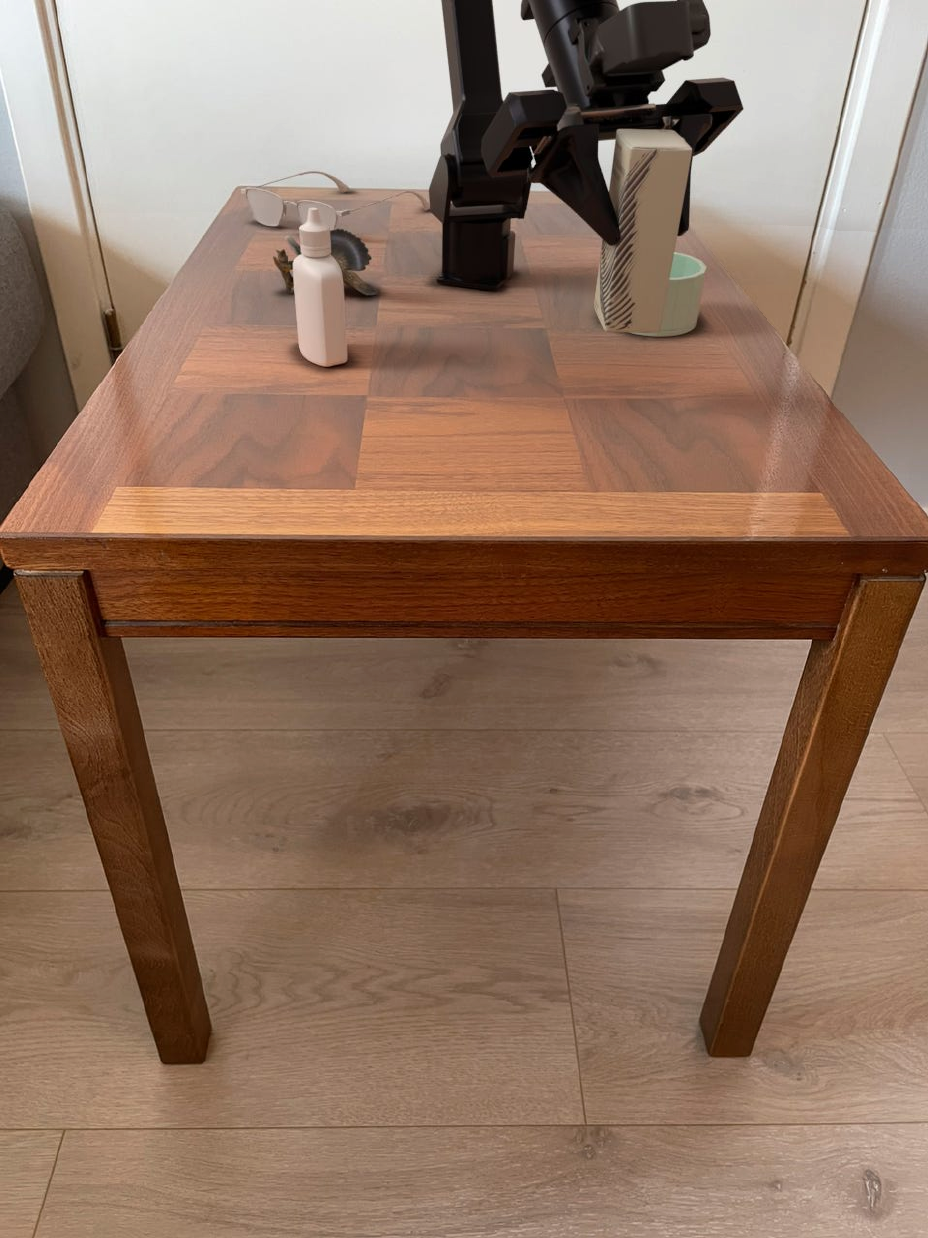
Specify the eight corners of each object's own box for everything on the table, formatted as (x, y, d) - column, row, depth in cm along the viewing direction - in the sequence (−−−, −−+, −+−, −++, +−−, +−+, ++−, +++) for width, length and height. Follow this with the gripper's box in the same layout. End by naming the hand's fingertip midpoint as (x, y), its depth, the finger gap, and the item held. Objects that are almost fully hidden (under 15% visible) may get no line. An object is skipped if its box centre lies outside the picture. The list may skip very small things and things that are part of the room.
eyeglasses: (242, 220, 115) (238, 184, 113) (342, 189, 127) (340, 156, 125) (342, 245, 108) (340, 207, 106) (437, 210, 120) (437, 175, 118)
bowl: (596, 329, 90) (602, 272, 87) (614, 299, 96) (620, 244, 93) (689, 342, 88) (699, 284, 85) (702, 310, 94) (711, 255, 91)
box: (591, 308, 75) (613, 126, 67) (647, 308, 76) (675, 127, 68) (605, 335, 71) (629, 144, 63) (664, 335, 72) (695, 145, 64)
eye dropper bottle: (350, 343, 86) (343, 199, 79) (347, 368, 81) (338, 219, 74) (300, 342, 86) (288, 198, 78) (294, 368, 81) (281, 218, 74)
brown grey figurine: (281, 301, 91) (376, 281, 90) (264, 223, 90) (360, 203, 90) (294, 319, 98) (382, 300, 98) (278, 247, 98) (367, 229, 97)
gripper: (510, -58, 58) (589, 185, 58) (755, -59, 65) (828, 158, 64) (450, 69, 69) (516, 276, 68) (667, 56, 76) (729, 244, 75)
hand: (649, 237), depth 68 cm, fingers closed on box, 5 cm apart
